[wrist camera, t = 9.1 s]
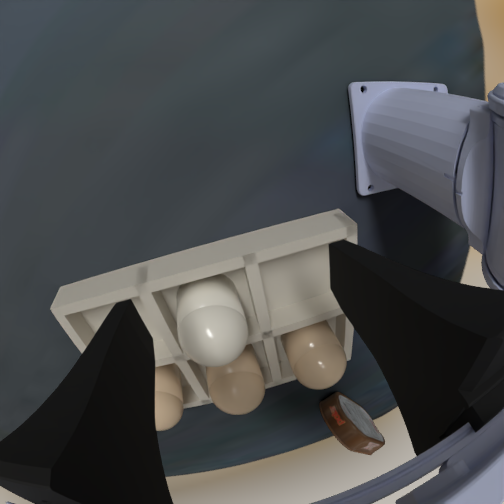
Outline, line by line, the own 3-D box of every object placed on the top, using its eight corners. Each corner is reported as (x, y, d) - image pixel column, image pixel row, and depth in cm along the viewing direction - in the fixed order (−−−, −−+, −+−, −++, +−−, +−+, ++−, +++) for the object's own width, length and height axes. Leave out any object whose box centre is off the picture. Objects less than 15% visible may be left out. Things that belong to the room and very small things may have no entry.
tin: (310, 394, 33) (335, 452, 25) (331, 380, 32) (360, 437, 25) (353, 417, 40) (373, 458, 33) (369, 406, 40) (391, 447, 32)
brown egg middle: (249, 331, 24) (267, 388, 19) (258, 362, 26) (274, 415, 21) (197, 345, 23) (205, 404, 18) (211, 375, 26) (221, 428, 21)
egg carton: (338, 208, 21) (357, 223, 18) (339, 341, 28) (350, 359, 26) (60, 286, 19) (50, 309, 16) (138, 395, 26) (137, 416, 24)
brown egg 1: (169, 352, 23) (172, 410, 18) (187, 380, 25) (193, 434, 20) (123, 361, 23) (119, 418, 18) (145, 389, 25) (145, 441, 20)
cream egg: (229, 263, 20) (247, 322, 15) (243, 310, 22) (261, 369, 17) (167, 281, 20) (167, 343, 15) (187, 325, 22) (193, 387, 17)
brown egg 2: (327, 307, 24) (357, 356, 19) (327, 340, 27) (353, 387, 22) (277, 323, 24) (300, 378, 19) (283, 355, 26) (303, 406, 21)
